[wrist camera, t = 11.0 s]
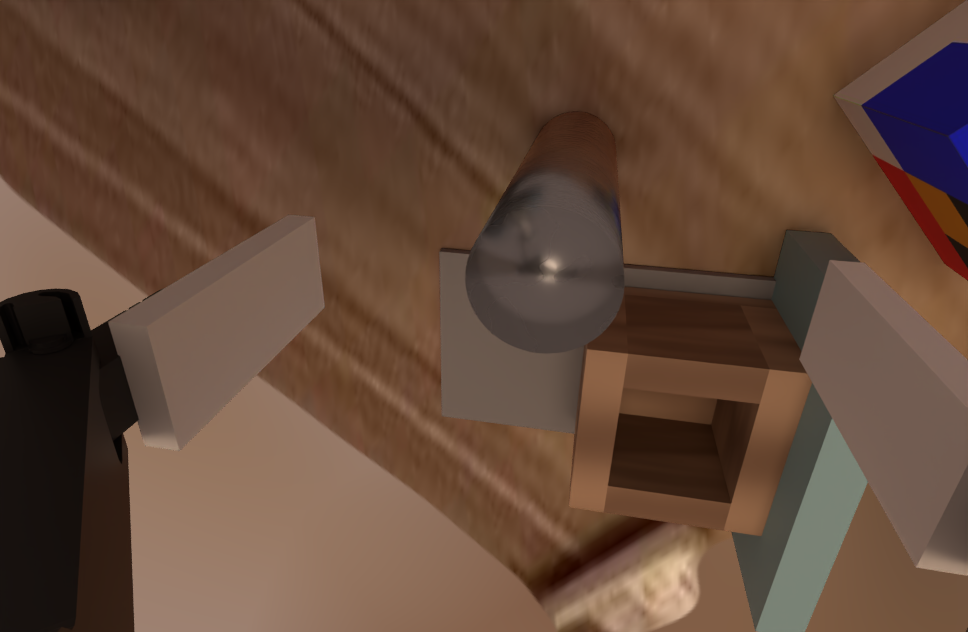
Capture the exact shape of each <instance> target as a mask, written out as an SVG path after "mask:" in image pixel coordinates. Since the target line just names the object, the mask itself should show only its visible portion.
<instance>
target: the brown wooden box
mask: <svg viewBox="0 0 968 632" xmlns="http://www.w3.org/2000/svg"><path fill="white" fill-rule="evenodd" d="M801 352H802V351H801V350H800V348H799V346H798V344H797V343H796V341H795V339H794V338H793V336H792V334H791V332H790V331H789V329H788V327H787V325H786V324H785V322H784V320H783V319H782V317H781V315H780V313H779V312H778V310H777V308H776V306H775V305H774V303H773V301H772V300H764V299H753V298H742V297H731V296H721V295H710V294H699V293H688V292H678V291H667V290H656V289H645V288H635V287H624V295H623V299H622V303H621V306H620V308H619V311H618V313H617V315H616V316H615V318H614V320H613V321H612V323H611V324H610V325H609V327H608V328H607V329H606V330H605V331H604V332H603V333H602V334H601V335H599V336H598V337H597V338H595V339H594V340H593V341H591V342H589V343H588V344H586V345H584V351H583V360H582V369H581V377H580V386H579V395H578V404H577V412H576V421H575V434H574V446H573V459H572V472H571V484H570V497H569V507H572V508H579V509H585V510H592V511H599V512H605V513H612V514H618V515H625V516H632V517H638V518H645V519H651V520H658V521H664V522H671V523H678V524H684V525H691V526H697V527H704V528H710V529H717V530H724V531H730V532H737V533H743V534H750V535H757V536H762V533H763V530H764V527H765V524H766V521H767V518H768V515H769V512H770V509H771V506H772V503H773V500H774V497H775V494H776V491H777V488H778V485H779V482H780V479H781V475H782V472H783V469H784V466H785V463H786V460H787V457H788V454H789V451H790V448H791V445H792V442H793V439H794V436H795V433H796V430H797V427H798V424H799V421H800V418H801V415H802V412H803V409H804V406H805V403H806V400H807V397H808V394H809V391H810V388H811V384H812V381H811V379H810V378H809V376H808V374H807V372H806V370H805V369H804V367H803V365H802V363H801V362H800V360H799V359H800V356H801Z"/></svg>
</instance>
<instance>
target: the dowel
mask: <svg viewBox="0 0 968 632" xmlns="http://www.w3.org/2000/svg"><path fill="white" fill-rule="evenodd" d="M465 284H466V291H467V296H468V299H469V301H470V304H471V306H472V308H473V310H474V312H475V314H476V316H477V317H478V319H479V320H480V321H481V323H482V324H483V325H484V326H485V327H486V328H487V329H488V330H489V331H490V332H491V333H492V334H493V335H495V336H496V337H497V338H499V339H500V340H502V341H503V342H505V343H507V344H509V345H511V346H513V347H516V348H518V349H521V350H525V351H529V352H534V353H545V354H550V353H561V352H567V351H570V350H573V349H577V348H579V347H581V346H584V345H586V344H588V343H589V342H591V341H593V340H594V339H595V338H597V337H598V336H599V335H601V334H602V333H603V332H604V331H605V330H606V329H607V328H608V327H609V325H610V324H611V323H612V321H613V320H614V318H615V316H616V315H617V313H618V311H619V308H620V306H621V303H622V299H623V295H624V286H625V279H624V263H623V248H622V232H621V217H620V201H619V186H618V170H617V155H616V144H615V140H614V137H613V134H612V133H611V131H610V129H609V128H608V126H607V125H606V124H605V123H604V122H603V121H602V120H600V119H599V118H598V117H596V116H594V115H592V114H589V113H586V112H579V111H573V112H567V113H563V114H561V115H558V116H556V117H555V118H553V119H551V120H550V121H549V122H548V123H547V124H546V125H545V126H544V127H543V128H542V130H541V131H540V133H539V135H538V136H537V138H536V140H535V141H534V143H533V145H532V146H531V148H530V150H529V152H528V153H527V155H526V157H525V158H524V160H523V162H522V163H521V165H520V167H519V169H518V170H517V172H516V174H515V175H514V177H513V179H512V181H511V182H510V184H509V186H508V187H507V189H506V191H505V192H504V194H503V196H502V198H501V199H500V201H499V203H498V204H497V206H496V208H495V210H494V211H493V213H492V215H491V216H490V218H489V220H488V221H487V223H486V225H485V227H484V228H483V230H482V232H481V233H480V235H479V237H478V238H477V240H476V242H475V244H474V246H473V247H472V249H471V252H470V254H469V257H468V260H467V265H466V272H465Z"/></svg>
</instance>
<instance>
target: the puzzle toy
mask: <svg viewBox="0 0 968 632" xmlns="http://www.w3.org/2000/svg"><path fill="white" fill-rule="evenodd" d="M833 96H834V98H835V99H836V101H837V102H838V104H839V105H840V107H841V108H842V110H843V112H844V113H845V115H846V116H847V118H848V119H849V121H850V122H851V124H852V125H853V127H854V128H855V130H856V131H857V133H858V134H859V136H860V137H861V139H862V140H863V142H864V143H865V145H866V146H867V148H868V149H869V151H870V152H871V154H872V155H873V157H874V158H875V160H876V161H877V163H878V164H879V166H880V167H881V169H882V170H883V172H884V173H885V175H886V176H887V178H888V179H889V181H890V182H891V184H892V185H893V187H894V188H895V190H896V191H897V193H898V194H899V196H900V197H901V199H902V200H903V202H904V203H905V205H906V206H907V208H908V209H909V211H910V212H911V214H912V215H913V217H914V218H915V220H916V221H917V223H918V224H919V226H920V227H921V229H922V230H923V232H924V233H925V235H926V236H927V238H928V239H929V241H930V242H931V244H932V245H933V247H934V248H935V250H936V251H937V253H938V254H939V256H940V257H941V259H942V260H943V262H944V263H945V264H946V265H947V266H949V267H950V268H951V269H953V270H954V271H955V272H957V273H958V274H959V275H961V276H962V277H964V278H965V279H966V280H968V0H966V1H964V2H963V3H962V4H960V5H959V6H957V7H956V8H955V9H953V10H952V11H950V12H949V13H948V14H946V15H945V16H943V17H942V18H941V19H939V20H938V21H936V22H935V23H934V24H932V25H931V26H929V27H928V28H927V29H925V30H924V31H922V32H921V33H920V34H918V35H917V36H915V37H914V38H913V39H911V40H910V41H908V42H907V43H906V44H904V45H903V46H902V47H900V48H899V49H897V50H896V51H895V52H893V53H892V54H890V55H889V56H888V57H886V58H885V59H883V60H882V61H881V62H879V63H878V64H876V65H875V66H874V67H872V68H871V69H869V70H868V71H867V72H865V73H864V74H862V75H861V76H860V77H858V78H857V79H855V80H854V81H853V82H851V83H850V84H848V85H847V86H846V87H844V88H843V89H841V90H840V91H839V92H837V93H836V94H834V95H833Z"/></svg>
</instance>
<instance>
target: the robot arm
mask: <svg viewBox="0 0 968 632" xmlns="http://www.w3.org/2000/svg"><path fill="white" fill-rule="evenodd" d="M324 308H325V306H324V297H323V288H322V279H321V270H320V261H319V251H318V242H317V233H316V224H315V217H310V216H298V215H287V216H286V217H284V218H282V219H281V220H279V221H277V222H276V223H274V224H272V225H271V226H269V227H267V228H266V229H264V230H262V231H260V232H259V233H257V234H255V235H254V236H252V237H250V238H249V239H247V240H245V241H244V242H242V243H240V244H239V245H237V246H235V247H233V248H232V249H230V250H228V251H227V252H225V253H223V254H222V255H220V256H218V257H217V258H215V259H213V260H212V261H210V262H208V263H206V264H205V265H203V266H201V267H200V268H198V269H196V270H195V271H193V272H191V273H190V274H188V275H186V276H185V277H183V278H181V279H179V280H178V281H176V282H174V283H173V284H171V285H169V286H168V287H166V288H164V289H161V290H159V291H157V292H156V293H154V294H152V295H150V296H149V297H147V298H145V299H144V300H143V301H142V302H139V303H137V304H135V305H134V306H132V307H130V308H129V310H127V311H123V312H122V313H120V314H118V315H117V316H115V317H113V318H112V319H110V320H108V321H107V322H105V323H103V324H101V325H100V326H98V327H96V328H95V329H93V330H90V327H89V324H88V320H87V317H86V314H85V311H84V308H83V305H82V301H81V298H80V296H79V294H78V292H75V291H72V290H69V289H46V290H38V291H33V292H28V293H23V294H20V295H17V296H14V297H11V298H8V299H6V300H4V301H2V302H0V340H1V342H2V345H3V348H4V350H5V353H6V354H5V357H2V358H0V632H134V611H133V609H134V608H133V580H132V553H131V528H130V527H131V525H130V497H129V469H128V448H127V445H126V441H125V438H124V435H123V432H125V431H126V430H127V429H128V428H129V427H131V426H132V425H133V424H134V423H135V422H137V421H138V425H139V428H140V431H141V434H142V438H143V441H144V444H145V446H150V447H156V448H163V449H169V450H176V451H180V450H181V449H182V448H183V447H184V446H185V445H186V444H187V443H188V442H189V441H190V440H191V439H192V438H193V437H194V436H195V435H196V434H197V433H198V432H199V431H200V430H201V429H202V428H203V427H204V426H205V425H206V424H208V423H209V422H210V421H211V420H212V419H213V418H214V417H215V415H217V413H219V412H220V411H221V410H222V409H223V408H224V407H225V406H226V405H227V404H228V403H229V402H230V401H231V400H232V399H233V398H234V397H235V396H236V395H237V394H238V393H239V392H240V391H241V390H242V389H243V388H244V387H245V386H246V385H247V384H248V383H249V382H250V381H251V380H252V379H253V378H254V377H255V376H256V375H257V374H258V373H259V372H260V371H261V370H262V369H263V368H264V367H265V366H266V365H267V364H268V363H269V362H270V361H271V360H272V359H273V358H274V357H275V356H276V355H277V354H278V353H279V352H280V351H281V350H282V349H283V348H284V347H285V346H286V345H287V344H288V343H289V342H290V341H291V340H292V339H293V338H294V337H295V336H296V335H297V334H298V333H299V332H300V331H301V330H302V329H303V328H304V327H305V326H306V325H307V324H308V323H309V322H310V321H311V320H312V319H314V318H315V317H316V316H317V315H318V314H319V313H320V312H321V311H322V310H323V309H324ZM799 360H800V362H801V363H802V365H803V367H804V369H805V370H806V372H807V374H808V376H809V378H810V379H811V381H812V383H813V385H814V387H815V388H816V390H817V392H818V394H819V395H820V397H821V399H822V401H823V403H824V404H825V406H826V408H827V410H828V411H829V413H830V415H831V417H832V419H833V420H834V422H835V424H836V426H837V427H838V429H839V431H840V433H841V435H842V436H843V438H844V440H845V442H846V443H847V445H848V447H849V449H850V451H851V452H852V454H853V456H854V458H855V460H856V461H857V463H858V465H859V467H860V468H861V470H862V472H863V474H864V476H865V477H866V479H867V481H868V482H869V484H870V486H871V488H872V490H873V492H874V493H875V495H876V497H877V499H878V500H879V502H880V504H881V506H882V508H883V509H884V511H885V513H886V515H887V516H888V518H889V520H890V522H891V524H892V525H893V527H894V529H895V531H896V533H897V534H898V536H899V538H900V540H901V541H902V543H903V545H904V547H905V548H906V550H907V552H908V554H909V556H910V557H911V559H912V561H913V563H914V565H915V566H916V567H917V568H923V569H929V570H936V571H942V572H949V573H955V574H961V575H968V360H967V359H966V358H965V357H964V356H963V355H962V354H961V353H960V352H959V351H958V350H957V349H955V348H954V347H953V346H952V345H951V344H950V343H949V342H948V341H947V340H946V339H945V338H944V337H943V336H942V335H941V334H940V333H938V332H937V331H936V330H935V329H934V328H933V327H932V326H931V325H930V324H929V323H928V322H927V321H926V320H925V319H924V318H923V317H921V316H920V315H919V314H918V313H917V312H916V311H915V310H914V309H913V308H912V307H911V306H910V305H909V304H908V303H907V302H906V301H905V300H903V299H902V298H901V297H900V296H899V295H898V294H897V293H896V292H895V291H894V290H893V289H892V288H891V287H890V286H889V285H888V284H886V283H885V282H884V281H883V280H882V279H881V278H880V277H879V276H878V275H877V274H876V273H875V272H874V271H873V270H872V269H871V268H869V267H868V266H867V265H866V264H865V263H860V262H848V261H836V260H830V261H829V264H828V267H827V271H826V274H825V277H824V281H823V284H822V287H821V290H820V294H819V297H818V300H817V303H816V307H815V310H814V313H813V316H812V320H811V323H810V326H809V330H808V333H807V336H806V339H805V343H804V346H803V349H802V352H801V356H800V359H799ZM966 632H968V628H967V630H966Z"/></svg>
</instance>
